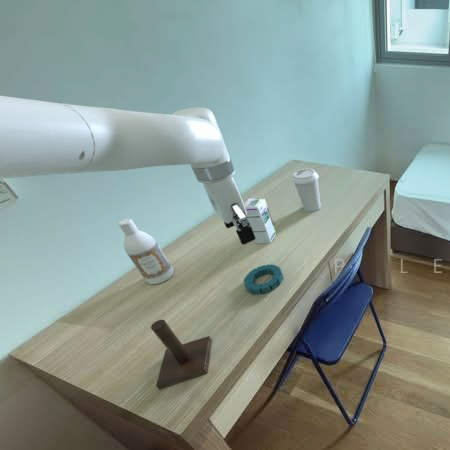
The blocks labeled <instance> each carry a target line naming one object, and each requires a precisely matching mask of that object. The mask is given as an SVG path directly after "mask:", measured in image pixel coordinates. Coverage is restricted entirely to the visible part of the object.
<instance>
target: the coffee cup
mask: <svg viewBox="0 0 450 450" xmlns="http://www.w3.org/2000/svg"><path fill="white" fill-rule="evenodd" d="M319 178H320V177H319V174H318V172H316V170H315V169H314V168H301V169H298V170H296V171H294V172H293V174H292V178H291V181H292V182H293V184H294V186H295V188H296V191H297V194H298V196H299V199H300V202H301V205H302V207H303V210H304V211H305V212H307V213H312V212H313V213H314V212H317V211H320V209H321V207H322V206H321V195H320V190H319V189H320V188H319V180H318V179H319Z"/></svg>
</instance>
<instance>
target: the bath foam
mask: <svg viewBox="0 0 450 450" xmlns="http://www.w3.org/2000/svg"><path fill="white" fill-rule="evenodd" d="M117 224H118V226H119V227H120V229H121V230H122V232H123V233H124V240H123V249H124V251H125V254H126V255H127V256H128V258H129V259H130V260H131V261H132V264H133V265H134V266H135V267H136V269H137V271H139V273H140V275H141V276H142V278H144V280H145V282H147V284H149V285H158V284H162V283H164V282H166V281H168V280H169V279H170V278H172V276H173V275H174V271H175V270H174V268H173V267H172V265H171V263H170V261H169V259H168V258H167V256H166V255H165V253H164V252H163V250H162V248H161V247H160V245H159V244H158V242H157V240H156V239H155V238H154V236H152V235H150V234H149V233H147V232H145V231H143V230H140V229H138V227H137V225H136V224H135V222H134V221H133V219H132V218H124V219H122V220H120V221H119V222H118V223H117Z"/></svg>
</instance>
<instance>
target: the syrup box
mask: <svg viewBox="0 0 450 450" xmlns="http://www.w3.org/2000/svg"><path fill="white" fill-rule="evenodd" d="M243 203H244V205H245V208H246V211H247V215H246V218H247V220H248V221H249V223H250V225H251V228H252V230H253V233H254V235H255V240H253V242H254V244H272V242H273V240H274V239H275V237H276V235H277V233H278V231H277V229H276V226H275V223H274V221H273V218H272V214H271V213H270V210H269V206H268V204H267V201H266V198H264V197H252V198H247V200H246V201H245V202H243Z"/></svg>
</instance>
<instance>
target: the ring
mask: <svg viewBox="0 0 450 450" xmlns="http://www.w3.org/2000/svg"><path fill="white" fill-rule="evenodd" d="M265 275H273V276H272V278H270V279H269V280H268V281H267V282H264V283H260V284H259V283H257V284H256V283H255V282H256V280H258V279H259V278H260V277H261V276H265ZM283 280H284V275H283V272H282V269H281V267H279V266H277V265H275V264H263V265H261V266H257V267H256V268H254V269H252V270H251V271H248V273H247V274H246V276H245V277H244V278H243V284H244V288H245V289H246V291H247V292H248V293H250V294H251V295H265V294H268V293H270V292H272V291H274V290H275V289H277V288H278V287H279V286H280V285H281V284H282V282H283Z"/></svg>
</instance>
